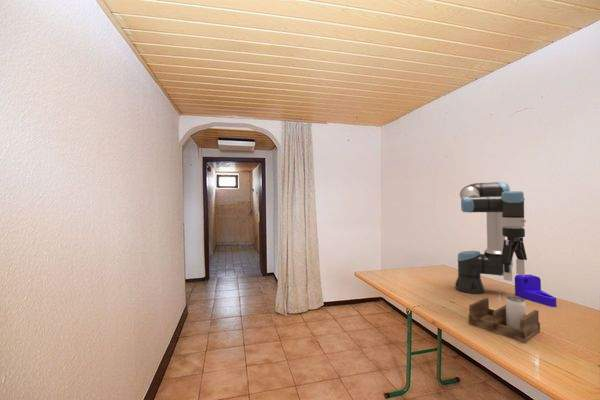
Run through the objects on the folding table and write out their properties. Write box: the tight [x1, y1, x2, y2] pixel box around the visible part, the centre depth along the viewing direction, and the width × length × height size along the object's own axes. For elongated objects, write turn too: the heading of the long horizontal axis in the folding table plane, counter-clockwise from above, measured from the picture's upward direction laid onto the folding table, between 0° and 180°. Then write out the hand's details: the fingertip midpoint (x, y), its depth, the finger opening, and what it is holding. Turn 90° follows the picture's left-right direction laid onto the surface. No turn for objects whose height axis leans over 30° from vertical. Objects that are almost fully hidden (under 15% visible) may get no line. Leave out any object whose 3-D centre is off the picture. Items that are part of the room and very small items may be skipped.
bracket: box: [514, 274, 557, 308], centre depth 145 cm, size 18×11×12 cm, turn 1°
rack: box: [468, 297, 541, 344], centre depth 114 cm, size 20×16×8 cm
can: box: [505, 296, 527, 330], centre depth 110 cm, size 6×6×12 cm
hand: (514, 277), depth 114 cm, fingers open, 13 cm apart
